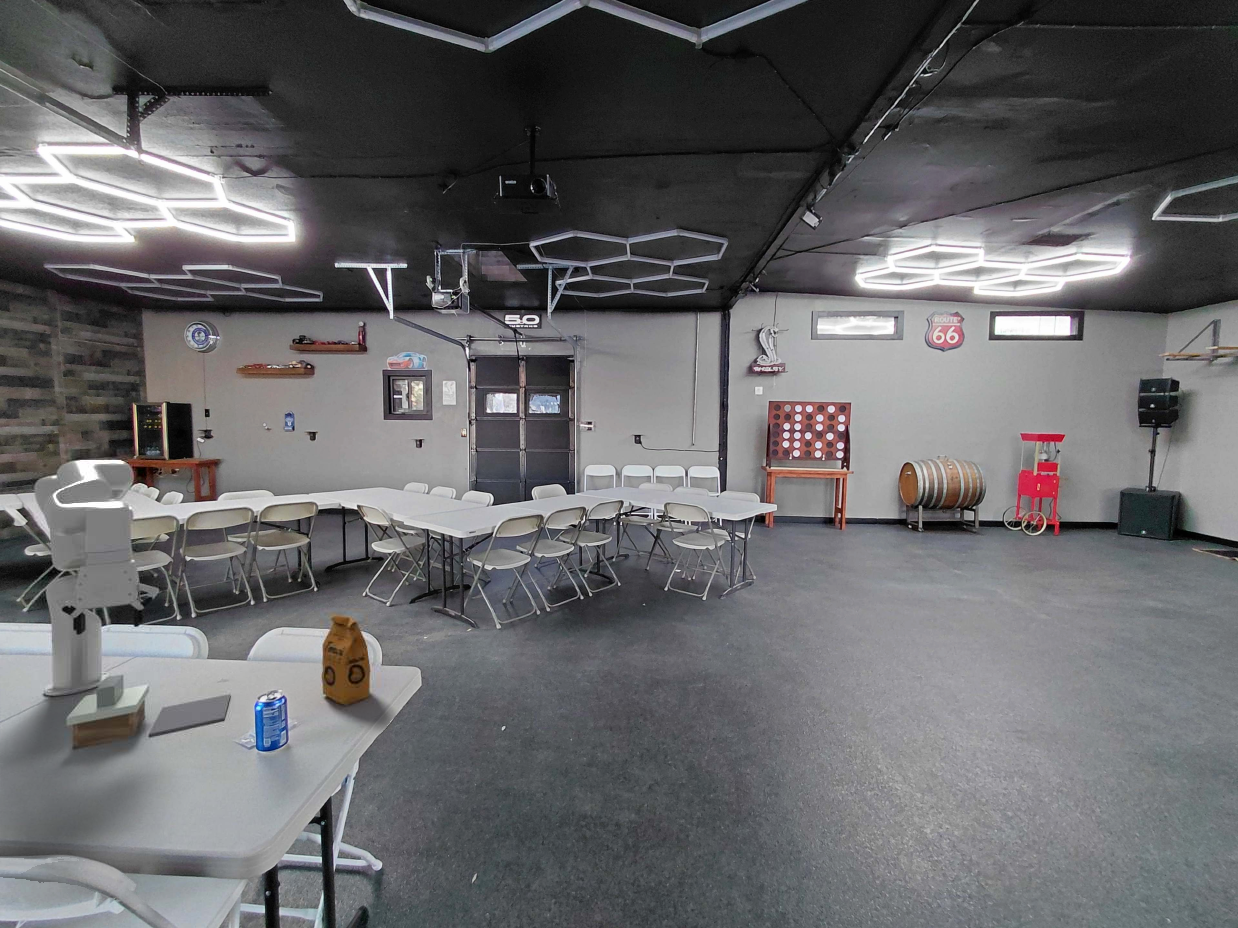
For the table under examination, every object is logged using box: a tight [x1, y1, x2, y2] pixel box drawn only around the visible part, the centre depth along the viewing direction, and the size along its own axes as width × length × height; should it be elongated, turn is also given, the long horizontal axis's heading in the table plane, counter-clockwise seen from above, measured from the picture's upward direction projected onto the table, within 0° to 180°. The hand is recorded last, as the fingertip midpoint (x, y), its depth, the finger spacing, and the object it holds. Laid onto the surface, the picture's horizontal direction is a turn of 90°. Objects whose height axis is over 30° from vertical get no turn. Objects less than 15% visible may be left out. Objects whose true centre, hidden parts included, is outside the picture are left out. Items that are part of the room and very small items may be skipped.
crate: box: [72, 698, 146, 750], centre depth 118 cm, size 10×10×7 cm
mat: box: [148, 693, 231, 737], centre depth 127 cm, size 14×14×1 cm
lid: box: [66, 674, 150, 727], centre depth 118 cm, size 11×11×6 cm
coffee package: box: [321, 614, 371, 706], centre depth 137 cm, size 10×12×22 cm
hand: (110, 628), depth 118 cm, fingers open, 9 cm apart
